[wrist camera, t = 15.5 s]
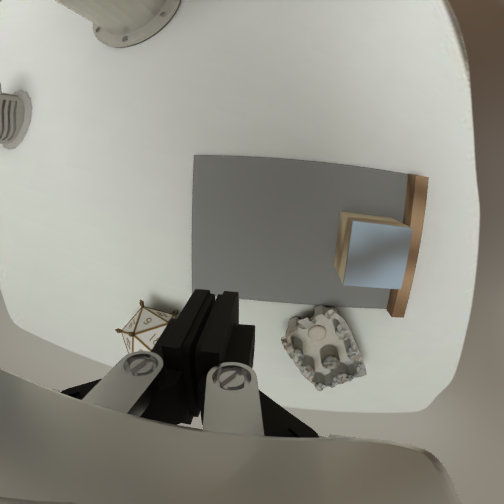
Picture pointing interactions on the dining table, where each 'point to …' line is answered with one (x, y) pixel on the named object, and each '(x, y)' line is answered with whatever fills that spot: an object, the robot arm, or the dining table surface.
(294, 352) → the carved stone fragment
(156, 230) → the dining table surface
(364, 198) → the grey rectangular board
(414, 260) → the rail
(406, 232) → the block
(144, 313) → the game die
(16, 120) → the french press
